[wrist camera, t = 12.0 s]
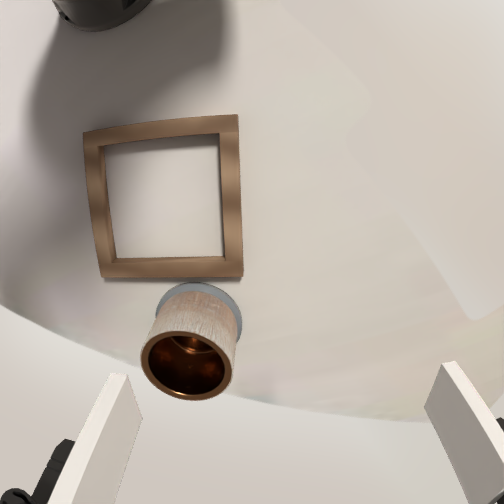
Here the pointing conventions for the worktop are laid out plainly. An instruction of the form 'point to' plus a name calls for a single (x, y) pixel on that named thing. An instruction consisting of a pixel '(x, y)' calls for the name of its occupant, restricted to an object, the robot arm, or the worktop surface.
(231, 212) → the holder frame
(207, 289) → the slate trivet
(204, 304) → the planter
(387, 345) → the worktop surface
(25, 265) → the worktop surface
